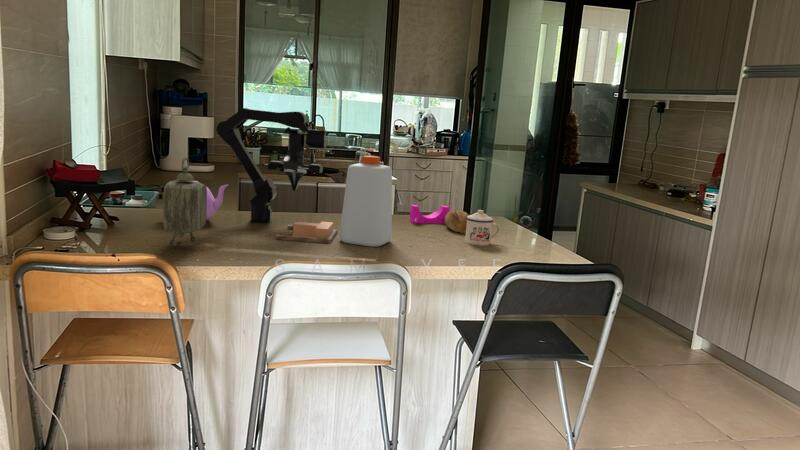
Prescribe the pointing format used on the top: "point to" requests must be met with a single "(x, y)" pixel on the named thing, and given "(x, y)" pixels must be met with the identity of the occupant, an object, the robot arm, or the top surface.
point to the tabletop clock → (184, 205)
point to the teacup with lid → (479, 229)
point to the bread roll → (456, 221)
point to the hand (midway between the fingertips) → (294, 190)
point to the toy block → (432, 218)
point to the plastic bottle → (367, 204)
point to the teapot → (213, 201)
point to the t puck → (313, 229)
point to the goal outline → (307, 239)
